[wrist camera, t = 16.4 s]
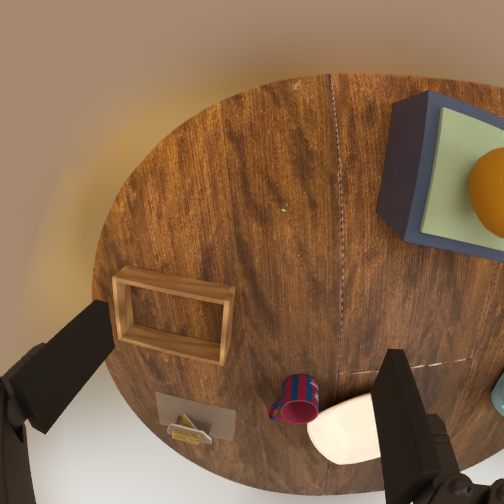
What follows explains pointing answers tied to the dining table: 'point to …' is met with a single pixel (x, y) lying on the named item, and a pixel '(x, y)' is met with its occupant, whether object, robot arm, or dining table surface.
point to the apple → (489, 190)
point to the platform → (195, 419)
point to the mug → (298, 400)
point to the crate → (421, 169)
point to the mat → (458, 179)
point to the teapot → (498, 395)
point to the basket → (178, 287)
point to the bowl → (346, 431)
